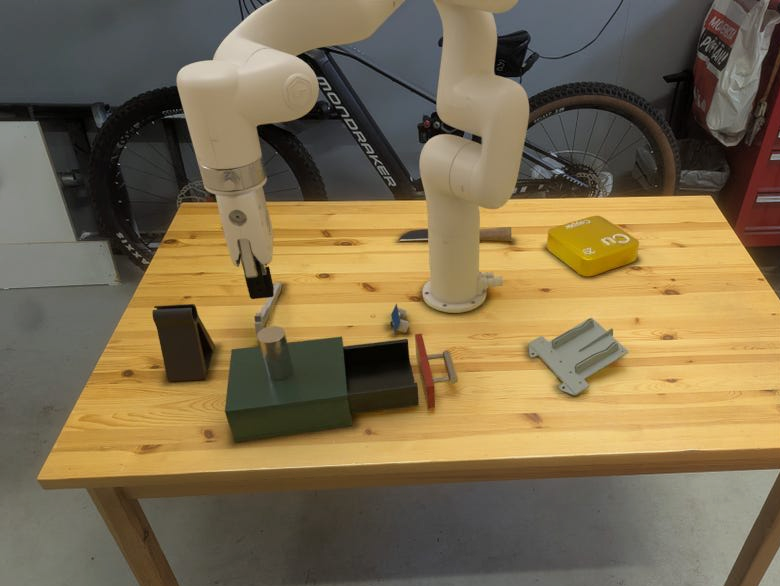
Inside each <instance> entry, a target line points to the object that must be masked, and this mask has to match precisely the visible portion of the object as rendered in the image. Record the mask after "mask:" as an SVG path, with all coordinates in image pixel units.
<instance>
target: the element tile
mask: <svg viewBox="0 0 780 586" xmlns="http://www.w3.org/2000/svg"><path fill="white" fill-rule="evenodd" d="M639 247H640V241H639V239H637V238H636V237H634V236H633V235H631V234H630V233H628V232H626V231H625V230H623V229H621V227H619V226H617V225H616V224H614V223H612V222H611V221H609V220H608V219H607V218H605V217H603V216H601V215H592V216H588V217H585V218H581V219H578V220H575V221H571V222H568V223H564V224H561V225H558V226H555V227H551V228H550V229H549V230H548V231H547V238H546V249H547V250H548V251H549V252H550V253H551V254H553V255H554V256H555V257H556V258H558V259H559V260H560V261H562V262H563V263H564V264H566V265H567V266H568V267H569V268H571V269H572V270H574V272H576V273H577V274H578V275H580V276H583V277H594V276H596V275H597V276H598V275H600V274H603V273H605V272H608V271H610V270H614V269H617V268H620V267H622V266H626V265H629V264H631V263H634V262H635V261H636V260H637V256H638V252H639Z"/></svg>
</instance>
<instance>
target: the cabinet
mask: <svg viewBox="0 0 780 586" xmlns="http://www.w3.org/2000/svg"><path fill="white" fill-rule="evenodd" d="M287 343H288V348H289V352H290V357H291V361H292V366H293V374H292V375H291V376H290V377H289V378H287V379H285V380H281V381H274V380H271V379H269V378H268V376H267V373H266V369H265V365H264V362H263V358H262V354H261V350H260V346H259V345H257V346H247V347H239V348H231V350H230V358H229V359H230V360H229V367H228V368H229V369H228V377H227V378H228V379H227V387H226V398H225V405H224V413H225V417H226V420H227V423H228V426H229V429H230V432H231V435H232V438H233V442H234V443H242V442H249V441H255V440H261V439H270V438H277V437H285V436H292V435H299V434H305V433H306V434H307V433H313V432H319V431H326V430H327V431H328V430H335V429H341V428H349V427H353V419H352V415H351V413H350V407H349V401H348V393H347V382H346V372H345V361H344V350H343V346H344V340H343V336H342V335H341V336H333V337H325V338H317V339H308V340H299V341H290V342H287Z"/></svg>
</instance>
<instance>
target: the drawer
mask: <svg viewBox="0 0 780 586" xmlns="http://www.w3.org/2000/svg"><path fill="white" fill-rule="evenodd" d="M414 344H415V345H414V347H415V357H416V363H417V367H418V371H419V376H420V381H421V384H422V385H421V386H422V389H423V393H424V397H425V402H426V403H425V404H426V407H427V409H435V408H436V391H435V384H440V383H448V382H449V383H450V384H452V385H454V384H457V383H458V381H459V378H458V375H457V371H456V368H455V364H454V361H453V358H452V353H451V351H450V350H447V349H446V350H443V351H442V353H435V354H427V349H426V346H425V341H424V337H423V333H415V334H414ZM343 350H344V361H345V372H346V382H347V393H348V401H349V407H350V413H351V416H352V415H358V414H367V413H375V412H381V411H388V410H395V409H402V408H410V407H417V406H419V405H420V403H419V402H420V401H419V385H418V382H415V378H414V372H413V369H412V368H413V367H412V364H411V359H410V347H409V339H408V338H404V339H395V340H385V341H377V342H369V343H359V344H352V345H343ZM440 359H443V363H444V366H445V370H446V374H447V376H443V377H435V378H433V373H432V370H431V366H430V361H432V360H440Z"/></svg>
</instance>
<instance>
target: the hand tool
mask: <svg viewBox="0 0 780 586" xmlns="http://www.w3.org/2000/svg"><path fill="white" fill-rule="evenodd" d="M398 241H399V242H403V241H404V242H405V241H428V228H425V229H424V228H422V229H413V230H410V231H408V232H406V233H404V234H403V235H401V236H400V237H399V239H398ZM479 241H500V242H501V241H502V242H503V241H504V242H512V226H504V227H492V228H482V229H481V228H480V239H479Z"/></svg>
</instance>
